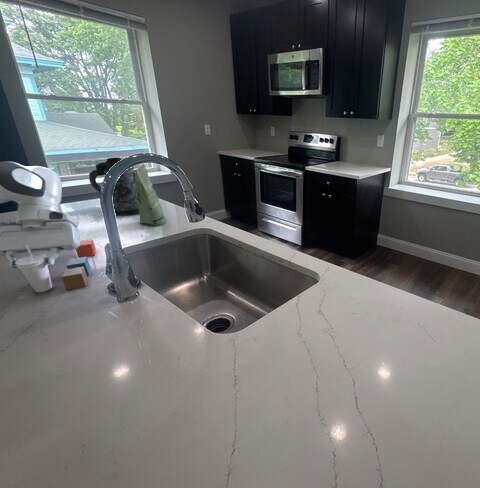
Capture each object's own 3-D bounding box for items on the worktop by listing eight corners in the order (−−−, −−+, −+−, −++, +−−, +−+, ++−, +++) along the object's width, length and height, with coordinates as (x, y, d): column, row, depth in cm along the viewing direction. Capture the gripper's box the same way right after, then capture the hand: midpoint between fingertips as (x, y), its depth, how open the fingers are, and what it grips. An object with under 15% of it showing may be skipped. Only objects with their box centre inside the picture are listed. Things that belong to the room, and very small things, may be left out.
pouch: (148, 229, 126) (134, 170, 115) (132, 223, 132) (118, 166, 121) (172, 222, 135) (161, 166, 124) (157, 216, 140) (145, 162, 129)
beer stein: (156, 208, 150) (145, 157, 139) (118, 220, 134) (103, 164, 123) (134, 203, 156) (122, 154, 145) (95, 214, 140) (78, 159, 129)
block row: (66, 290, 85) (61, 277, 83) (80, 252, 106) (76, 241, 104) (86, 286, 87) (81, 273, 85) (96, 250, 108) (92, 239, 106)
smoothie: (45, 295, 83) (25, 250, 77) (22, 294, 83) (0, 249, 77) (63, 282, 88) (46, 240, 82) (42, 282, 88) (23, 239, 82)
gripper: (-17, 218, 80) (-26, 267, 76) (73, 213, 86) (69, 259, 82) (1, 227, 86) (-7, 273, 82) (84, 222, 92) (81, 265, 87)
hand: (32, 266), depth 82 cm, fingers closed on smoothie, 6 cm apart
